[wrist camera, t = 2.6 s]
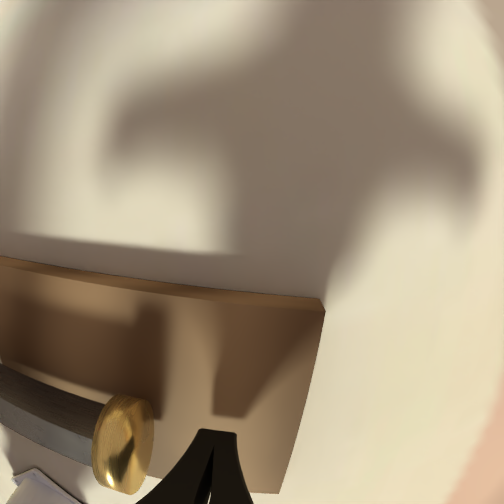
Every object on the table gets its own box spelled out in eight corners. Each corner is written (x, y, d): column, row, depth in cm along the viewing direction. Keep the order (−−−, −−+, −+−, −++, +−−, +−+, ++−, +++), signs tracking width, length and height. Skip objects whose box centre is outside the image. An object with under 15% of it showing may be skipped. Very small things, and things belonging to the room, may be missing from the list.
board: (319, 298, 11) (362, 397, 5) (278, 477, 13) (279, 563, 8) (-71, 240, 12) (-128, 259, 6) (-40, 375, 14) (-81, 408, 8)
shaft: (149, 379, 10) (109, 452, 7) (157, 445, 11) (132, 511, 7) (-35, 317, 11) (-81, 345, 7) (-17, 377, 12) (-55, 408, 8)
